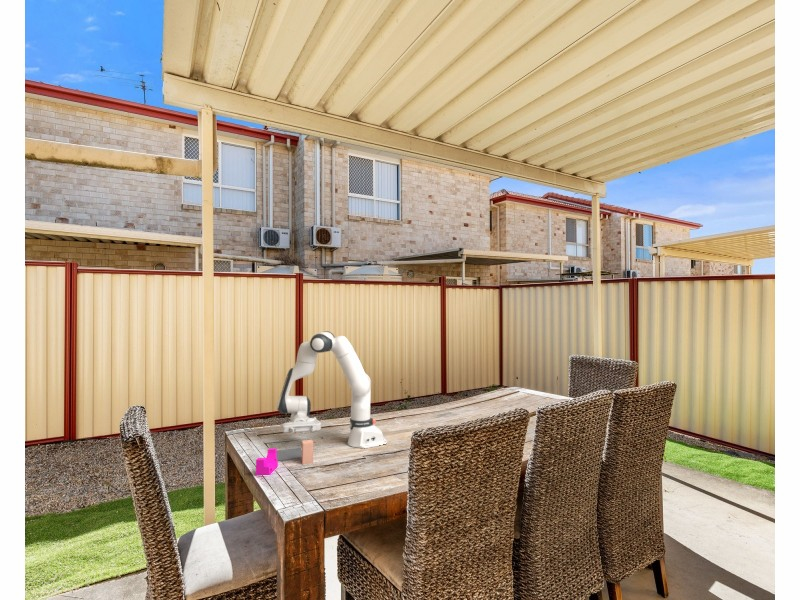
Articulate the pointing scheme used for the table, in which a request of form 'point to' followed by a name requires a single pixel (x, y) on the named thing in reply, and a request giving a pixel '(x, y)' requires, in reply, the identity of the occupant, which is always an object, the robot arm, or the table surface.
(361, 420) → the robot arm
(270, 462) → the toy block
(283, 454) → the mat
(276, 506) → the table surface
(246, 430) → the table surface
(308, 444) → the pillar block
